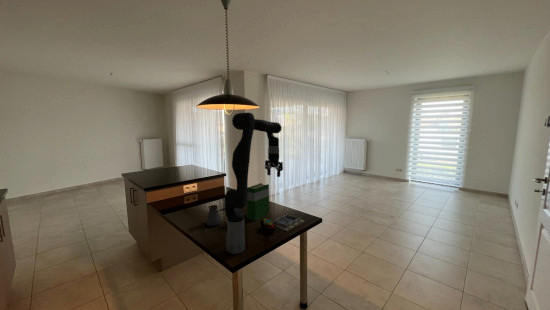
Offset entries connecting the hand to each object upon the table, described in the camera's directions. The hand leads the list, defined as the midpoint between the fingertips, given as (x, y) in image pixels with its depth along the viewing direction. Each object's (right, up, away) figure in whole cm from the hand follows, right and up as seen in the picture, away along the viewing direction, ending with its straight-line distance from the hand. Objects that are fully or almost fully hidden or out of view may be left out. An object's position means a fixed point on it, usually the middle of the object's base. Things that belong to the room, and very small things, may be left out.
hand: (273, 176), depth 149 cm
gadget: (-2, -36, -9) cm, 37 cm away
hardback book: (-12, -33, +17) cm, 39 cm away
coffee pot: (-38, -35, +1) cm, 51 cm away
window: (+9, -34, +5) cm, 35 cm away
